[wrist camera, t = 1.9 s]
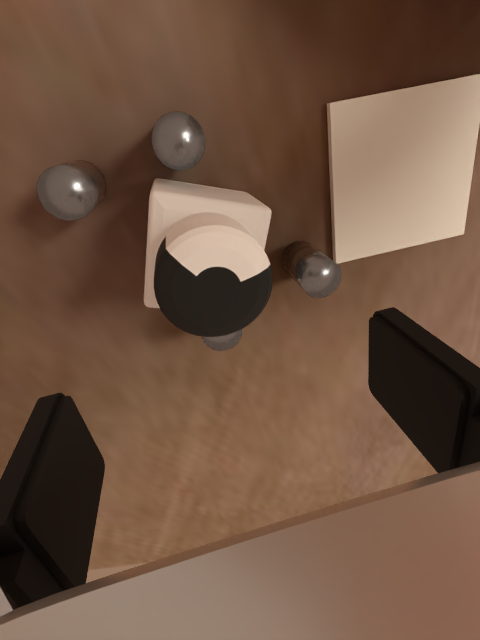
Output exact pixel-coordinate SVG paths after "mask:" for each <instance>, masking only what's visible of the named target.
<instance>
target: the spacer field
mask: <svg viewBox="0 0 480 640" xmlns="http://www.w3.org/2000/svg"><path fill="white" fill-rule="evenodd" d="M152 146H153V149H154V152H155V154H156V156H157V157H158V159H159V160H160V161H161V162H162V163H163V164H164V165H165V166H167V167H169V168H171V169H174V170H187V169H190V168H192V167H193V166H195V165H196V164H197V163H198V162H199V161H200V159H201V158H202V156H203V153H204V149H205V137H204V133H203V131H202V128H201V126H200V125H199V123H198V122H197V121H196V120H195V119H194V118H193V117H191V116H190V115H188V114H186V113H183V112H170V113H167V114H165V115H163V116H162V117H161V118H160V119H159V120H158V121H157V122H156V124H155V126H154V128H153V132H152ZM105 192H106V182H105V179H104V176H103V174H102V173H101V171H100V170H99V169H98V168H97V167H96V166H94V165H93V164H91V163H89V162H86V161H82V160H77V161H72V162H68V163H65V164H61V165H57V166H54V167H50V168H48V169H47V170H45V171H44V172H43V173H42V174H41V175H40V177H39V179H38V182H37V194H38V198H39V200H40V202H41V204H42V205H43V207H44V208H45V209H46V210H47V211H48V212H49V213H50V214H52V215H53V216H55V217H57V218H59V219H62V220H68V221H73V220H78V219H81V218H83V217H84V216H86V215H87V214H88V213H89V212H90V211H91V210H92V209H93V208H94V207H95V206H96V205H97V204H98V203H99V202H100V201H101V200H102V199H103V197H104V195H105ZM283 266H284V268H285V269H286V271H287V272H288V273H289V274H290V275H291V276H292V277H293V279H294V280H295V281H296V282H297V283H298V284H299V285H300V286H301V287H302V289H303V290H304V291H305V292H306V293H307V294H308V295H309V296H311V297H315V298H322V297H326V296H328V295H330V294H331V293H333V292H334V291H335V290H336V288H337V287H338V285H339V283H340V281H341V270H340V267H339V266H338V265H337V264H336V263H335V262H334V261H333V260H331V259H330V258H329V257H327V256H326V255H325V254H323V253H322V252H321V251H319V250H318V249H317V248H315V247H314V246H313V245H311V244H310V243H308V242H305V241H298V242H295V243H293V244H291V245H290V246H289V247H288V248H287V249H286V251H285V252H284V255H283ZM241 335H242V329H241V330H239V331H237V332H235V333H232V334H229V335H225V336H219V337H203V336H202V338H203V341H204V343H205V344H206V345H207V346H208V347H209V348H211V349H213V350H218V351H223V350H228V349H230V348H232V347H234V346H235V345H236V344H237V343H238V342H239V340H240V338H241Z"/></svg>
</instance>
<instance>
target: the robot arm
mask: <svg viewBox="0 0 480 640" xmlns="http://www.w3.org/2000/svg"><path fill="white" fill-rule="evenodd" d="M368 383H369V388H370V391H371V393H372V394H373V396H374V397H375V398H376V399H377V401H378V402H379V403H380V404H381V405H382V407H383V408H384V409H385V410H386V411H387V413H388V414H389V415H390V416H391V417H392V419H393V420H394V421H395V422H396V423H397V424H398V426H399V427H400V428H401V429H402V430H403V432H404V433H405V434H406V435H407V436H408V438H409V439H410V440H411V441H412V442H413V444H414V445H415V446H416V447H417V448H418V450H419V451H420V452H421V453H422V454H423V456H424V457H425V458H426V459H427V460H428V462H429V463H430V464H431V465H432V466H433V468H434V469H435V470H436V471H437V472H438V474H434V475H431V476H427V477H424V478H421V479H418V480H414V481H411V482H408V483H404V484H401V485H398V486H395V487H391V488H388V489H385V490H381V491H378V492H375V493H372V494H368V495H365V496H362V497H358V498H355V499H352V500H349V501H345V502H342V503H339V504H335V505H332V506H329V507H326V508H322V509H319V510H316V511H313V512H310V513H306V514H303V515H300V516H297V517H293V518H290V519H287V520H284V521H280V522H277V523H274V524H271V525H268V526H264V527H261V528H258V529H255V530H252V531H248V532H245V533H242V534H239V535H235V536H232V537H229V538H226V539H223V540H219V541H216V542H213V543H210V544H207V545H204V546H200V547H197V548H194V549H191V550H188V551H185V552H182V553H178V554H175V555H172V556H169V557H166V558H163V559H159V560H156V561H153V562H150V563H147V564H144V565H140V566H137V567H134V568H131V569H128V570H125V571H122V572H119V573H116V574H113V575H110V576H107V577H104V578H101V579H98V580H95V581H92V582H89V583H86V578H87V572H88V566H89V560H90V554H91V548H92V542H93V536H94V530H95V524H96V518H97V512H98V506H99V500H100V494H101V489H102V483H103V477H104V470H105V464H104V460H103V457H102V455H101V453H100V451H99V449H98V447H97V445H96V443H95V442H94V440H93V438H92V436H91V434H90V432H89V430H88V428H87V426H86V424H85V422H84V420H83V418H82V417H81V415H80V413H79V411H78V409H77V407H76V405H75V403H74V401H73V399H72V398H71V397H70V396H64V395H63V394H62V393H57V394H53V395H49V396H45V397H42V398H39V399H38V401H37V403H36V405H35V407H34V409H33V411H32V413H31V416H30V418H29V420H28V422H27V424H26V426H25V428H24V431H23V433H22V435H21V437H20V439H19V441H18V443H17V445H16V448H15V450H14V452H13V454H12V456H11V458H10V460H9V462H8V465H7V467H6V469H5V471H4V473H3V475H2V477H1V479H0V640H480V368H479V367H477V366H476V365H475V364H473V363H472V362H470V361H469V360H468V359H466V358H465V357H463V356H462V355H461V354H459V353H458V352H456V351H455V350H454V349H452V348H451V347H449V346H448V345H447V344H445V343H444V342H442V341H441V340H440V339H438V338H437V337H435V336H434V335H432V334H431V333H430V332H428V331H427V330H425V329H424V328H423V327H421V326H420V325H418V324H417V323H416V322H414V321H413V320H411V319H410V318H409V317H407V316H406V315H404V314H403V313H402V312H400V311H399V310H397V309H396V308H394V307H393V308H388V309H384V310H380V311H376V312H375V313H374V315H373V317H371V318H370V320H369V379H368Z"/></svg>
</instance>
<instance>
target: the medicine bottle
mask: <svg viewBox="0 0 480 640" xmlns="http://www.w3.org/2000/svg"><path fill="white" fill-rule="evenodd" d="M270 219H271V209H270V208H269V207H267V206H266V205H265V204H263V203H262V202H260V201H259V200H257V199H256V198H254V197H253V196H252V195H250V194H249V193H247V192H243V191H237V190H231V189H224V188H218V187H212V186H205V185H199V184H193V183H186V182H180V181H174V180H168V179H161V178H156V179H155V180H154V182H153V185H152V189H151V192H150V196H149V212H148V231H147V249H146V267H145V286H144V304H145V305H146V306H147V307H149V308H160V309H161V311H162V312H163V314H164V315H165V316H166V317H167V319H168V320H169V321H170V322H171V323H173V324H174V325H175V326H176V327H178V328H180V329H181V330H183V331H185V332H188V333H190V334H193V335H197V336H203V337H219V336H225V335H229V334H232V333H235V332H237V331H239V330H241V329H243V328H244V327H246V326H247V325H249V324H250V323H251V322H252V321H254V320H255V319H256V318H257V317H258V315H259V314H260V313H261V312H262V310H263V309H264V307H265V305H266V304H267V302H268V299H269V296H270V293H271V289H272V280H273V279H272V269H271V265H270V262H269V259H268V257H267V255H266V253H265V251H264V249H265V244H266V239H267V234H268V229H269V224H270Z"/></svg>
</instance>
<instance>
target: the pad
mask: <svg viewBox="0 0 480 640" xmlns="http://www.w3.org/2000/svg"><path fill="white" fill-rule="evenodd" d="M479 124H480V74H477V75H472V76H467V77H462V78H456V79H451V80H446V81H441V82H436V83H430V84H425V85H420V86H415V87H410V88H405V89H399V90H394V91H389V92H384V93H379V94H373V95H368V96H363V97H358V98H353V99H348V100H342V101H337V102H332V103H327V125H328V149H329V173H330V197H331V222H332V246H333V261H334V262H335V263H336V264H338V263H342V262H347V261H351V260H355V259H359V258H364V257H368V256H372V255H377V254H381V253H385V252H390V251H394V250H398V249H402V248H407V247H411V246H415V245H420V244H424V243H428V242H433V241H437V240H441V239H445V238H450V237H454V236H458V235H463V234H464V229H465V222H466V215H467V208H468V201H469V194H470V187H471V180H472V173H473V166H474V159H475V152H476V145H477V138H478V131H479Z"/></svg>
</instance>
